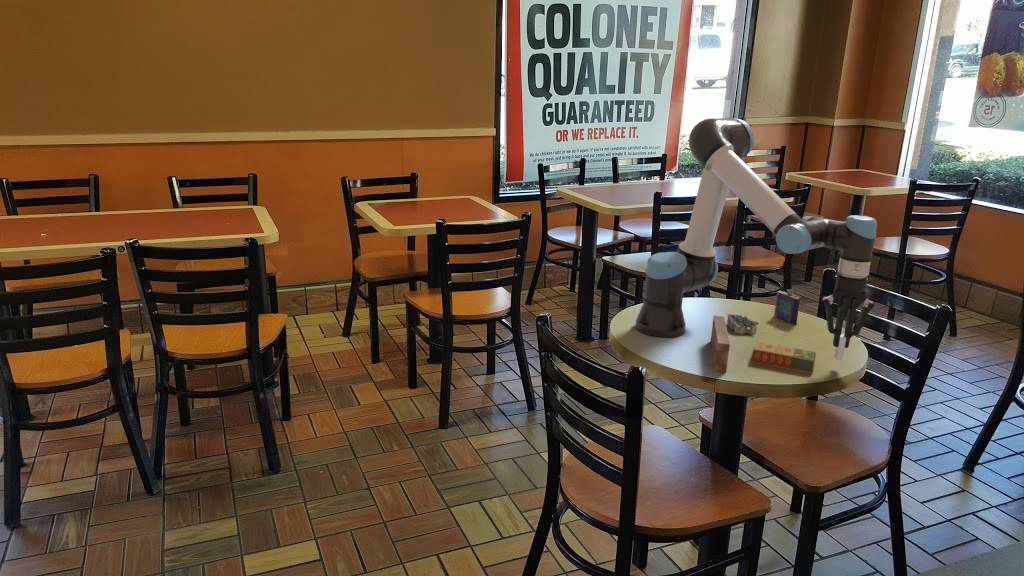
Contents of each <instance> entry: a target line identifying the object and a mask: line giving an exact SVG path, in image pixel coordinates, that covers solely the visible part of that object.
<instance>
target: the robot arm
mask: <svg viewBox="0 0 1024 576" xmlns="http://www.w3.org/2000/svg"><path fill="white" fill-rule="evenodd" d="M753 131H754V130H752V128H751V126H750V125H749V124H748V122H746V121H745V120H743V119H740V118H735V117H724V118H722V117H721V118H706V119H703V120H701V121H699V122H698V123H697V124H695V125H694V126H693V128H692V130H691V131H690V132H689V138H688V147H689V150H690V152H691V155H692V156H693V158H694V159H695V160H696V161H697V163H699V165H700V166H701V167H702V168H703V170H702V174H701V177H700V182H699V186H698V189H697V193H696V197H695V200H694V205H693V209H692V212H691V216H690V220H689V224H688V227H687V231H686V235H685V240H684V241H682V242H680V243H679V244H678V247H677V251H675V252H674V251H666V252H663V251H662V252H657V253H654V254H652V255H650V256H649V257H648V259H647V262H646V267H645V279H644V291H643V302H642V303H643V304H642V305H641V307H640V310H639V312H638V315H637V317H636V319H635V325H634V326H635V329H636V330H637V331H638V332H640V333H642V334H646V335H648V336H654V337H659V338H675V337H680V336H682V335H684V334H685V333H686V319H685V317H684V312H683V301H684V300H683V299H684V298H683V297H684V293H689V292H692V291H695V290H701V289H703V288H705V287H707V286H709V285H711V284H712V283H713V282H714V280H716V277H717V275H718V271H719V266H718V265H719V264H718V262H717V259H716V255H717V253H716V252H717V251H716V250H715V249H714V247H713V246H714V243H715V239H716V237H717V236H716V235H717V233H718V228H719V225H720V221H721V218H722V214H723V210H724V207H725V204H726V203H725V202H726V199H727V196H728V192H729V190H730V191H731V192H732V193H733V194H734V195H735V196H736V197H738V199H739V200H740V201H741V202H742V203H743V204H744V205H745V206H746V207H747V208H748V209H749V210H750V211H751V212H752V213H753V214H754V215H755V216H756V217H757V218H758V219H759V220H760V222H762V224H764V225H765V226H766V227H767V228H768V229H769V231H771V232H772V233H773V234H774V236H775V242H776V245H777V248H779V250H780V251H782V253H785V254H787V255H790V254H791V255H792V254H794V255H795V254H802V253H804V252H806V251H809V250H814V249H818V248H828V249H834V250H838V251H840V255H839V260H838V268H837V272H838V273H837V274H836V277H835V278H836V279H835V284H834V290H833V291H832V292H831V294H830V295H828V296H822V302H823V304H824V306H825V313H826V314H825V315H826V325H827V330H828V332H829V333H830V334H831V335H832V334H833V341H832V345H833V347H835V350H834V351H835V352H834V358H835V359H836V360H838V361H843V358H844V354H845V349H848V348H849V346H850V341H851V338H852V337H854V336H855V337H857V336H859V334H860V332H861V330H862V328H863V326H864V324H865V321H866V319H867V317H868V315H869V313H870V311H871V310H872V309H873V308H874V307H875V303H874V302H873V301H872V300H869V299H868V297H867V294H866V292H867V291H866V290H867V288H868V287H867V286H868V281H869V278H868V276H869V275H870V270H871V269H870V268H871V263H872V262H871V261H872V256H873V251H874V245H875V241H876V238H877V226H878V222H877V220H876V219H875V218H874V217H870V216H867V215H857V214H855V215H853V214H852V215H849V216H847V217H846V218H845V221H843V220H842V221H841V220H835V219H830V218H823V217H820V216H811V215H810V216H809V215H806V216H803V217H802V218H801V217H800V216H799V215H798V214H797V213H796V212H795V211H794V210H793V208H791V207H790V206H789V205H788V203H786V202H785V201H784V200H783V199H782V198H781V197H780V196H779V195H778V194H777V193H776V191H774V190H773V189H772V188H771V187H769V185H768V184H767V183H766V182H765V181H764V180H763V179H762V178H761V177H759V175H758V174H756V172H755V171H754V170H752V168H751V167H749V165H747V163H746V162H745V161H743V158H745V157H746V156H747V155H748V154H750V153H751V151H752V149H753V148H754V143H755V135H754V132H753ZM833 300H834V302H835V303H836V305H837V313H836V321H835V326H834V316H833V308H832V307H833V306H832V304H833V303H834V302H833ZM861 305H862V307H861V310H860V313H859V314H858V316H857V319H856V321H855V316H856V313H857V309H858V308H859V307H860V306H861ZM846 311H847V315H846V321H845V328H844V334H843V333H842V332H843V331H842V330H843V323H844V320H845V319H844V318H845V313H846ZM854 321H855V323H854Z"/></svg>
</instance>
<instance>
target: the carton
mask: <svg viewBox="0 0 1024 576" xmlns="http://www.w3.org/2000/svg"><path fill="white" fill-rule="evenodd" d="M816 353H817V352H816V351H813V350H808V349H802V348H797V347H790V346H787V345H786V346H785V345H779V344H774V343H769V342H763V341H757V340H756V343H755V345H754V347H753V349H752V354H751V359H750V360H751V363H753V364H759V365H763V364H764V365H765V366H768V365H769V367H774V366H775V368H779V367H781V368H780V369H784V368H787V369H786V370H790V371H795V370H796V371H797V372H800V373H805V372H806V373H805V374H811V375H812V374H813V373H814V368H815V362H816V356H817V355H816ZM764 365H763V366H764Z"/></svg>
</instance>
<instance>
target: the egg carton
mask: <svg viewBox="0 0 1024 576" xmlns="http://www.w3.org/2000/svg"><path fill="white" fill-rule="evenodd" d="M726 315H727V321H726V326H730V329H731V330H733V331H734V333H735V334H740V335H744V334H749V335H754V334H757V330H758V327H757V326H758V325H759V322H758V321H757V320H753V319H750V318H748V316H746V315H744V316H742V314H740V315H738V314H734V313H733V314H730V313H726ZM744 325H745V326H744Z"/></svg>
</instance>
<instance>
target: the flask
mask: <svg viewBox="0 0 1024 576" xmlns="http://www.w3.org/2000/svg"><path fill="white" fill-rule="evenodd" d="M786 291H787V292H786ZM786 291H782V290H778V291H777V292H776V301H775V307H774V314H773V318H775V319H776V318H777V320H779V319H780V321H781V320H783V321H782V322H784V323H787V324H789V325H791V326H796V325H798V323H797V322H798V315H799V308H800V303H801V302H800V301H801V298H800V297H799V296H798V295H794V292H793V291H794V289H786Z"/></svg>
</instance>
